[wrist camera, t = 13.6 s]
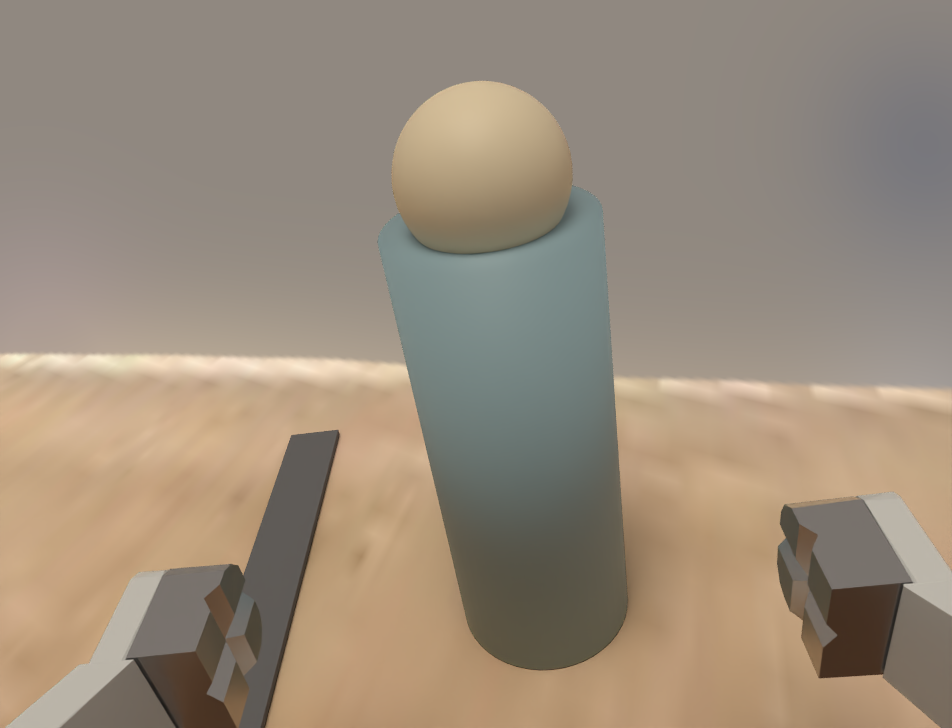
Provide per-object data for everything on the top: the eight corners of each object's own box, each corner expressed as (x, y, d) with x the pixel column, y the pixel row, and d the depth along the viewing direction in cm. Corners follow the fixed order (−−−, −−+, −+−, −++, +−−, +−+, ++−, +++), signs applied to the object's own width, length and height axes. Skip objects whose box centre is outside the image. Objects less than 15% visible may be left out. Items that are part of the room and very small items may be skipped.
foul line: (103, 1002, 14) (98, 998, 14) (292, 439, 29) (291, 435, 29) (194, 998, 14) (191, 993, 14) (339, 433, 29) (338, 429, 28)
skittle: (463, 677, 19) (325, 138, 12) (466, 546, 23) (363, 75, 16) (640, 662, 19) (609, 96, 12) (615, 531, 22) (579, 41, 15)
